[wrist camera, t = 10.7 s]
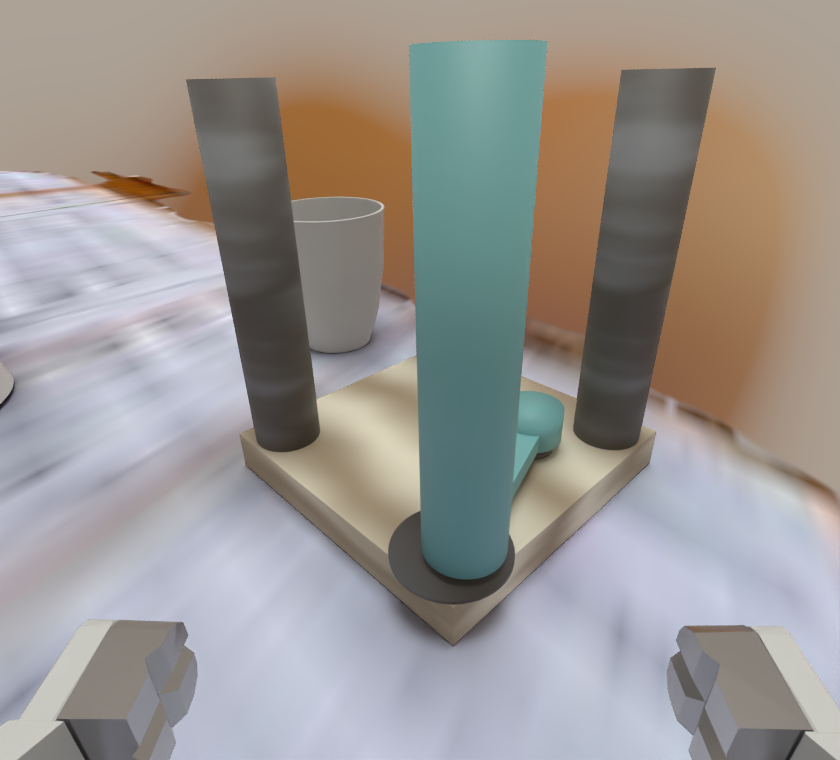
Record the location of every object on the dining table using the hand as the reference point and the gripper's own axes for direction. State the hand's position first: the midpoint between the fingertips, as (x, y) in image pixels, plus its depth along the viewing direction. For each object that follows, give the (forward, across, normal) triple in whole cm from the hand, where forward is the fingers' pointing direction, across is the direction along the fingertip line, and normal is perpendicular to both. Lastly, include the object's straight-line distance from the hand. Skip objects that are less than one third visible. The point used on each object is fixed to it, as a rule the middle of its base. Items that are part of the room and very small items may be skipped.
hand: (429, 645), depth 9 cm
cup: (+34, -7, -10) cm, 36 cm away
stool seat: (+18, +1, -10) cm, 20 cm away
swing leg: (+13, +3, -7) cm, 15 cm away
